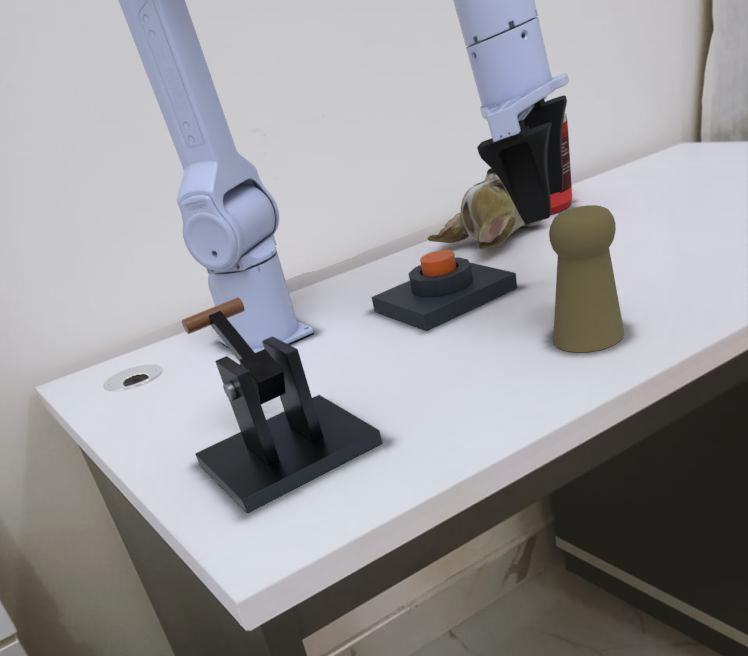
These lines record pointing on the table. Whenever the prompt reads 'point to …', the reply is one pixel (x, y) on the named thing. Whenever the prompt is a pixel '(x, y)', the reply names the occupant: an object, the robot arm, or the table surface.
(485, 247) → the ceramic sculpture
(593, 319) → the olive pawn
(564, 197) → the canned food
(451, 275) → the button box
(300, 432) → the bracket
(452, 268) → the button
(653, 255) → the table surface
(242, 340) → the lever
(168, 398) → the table surface
